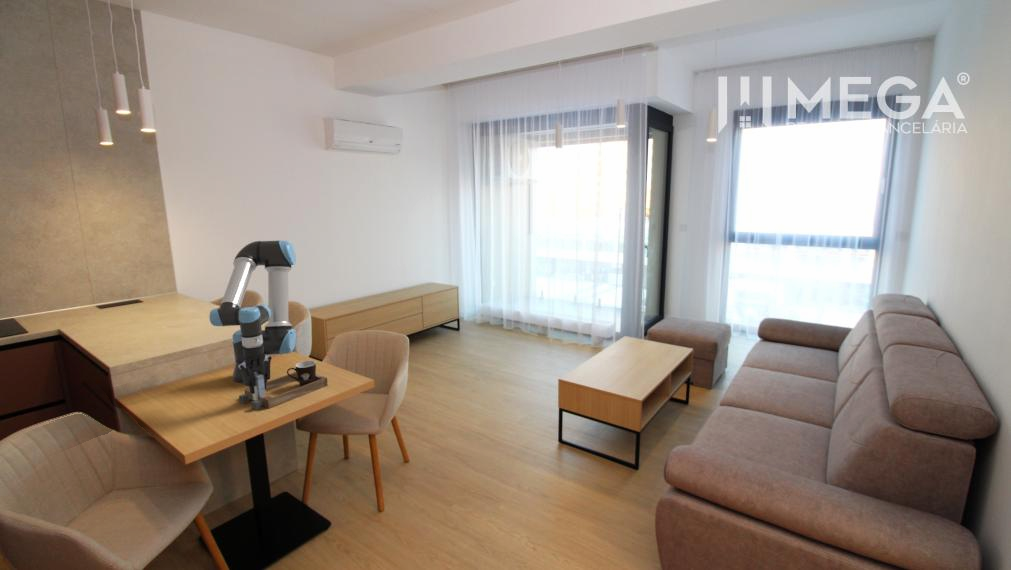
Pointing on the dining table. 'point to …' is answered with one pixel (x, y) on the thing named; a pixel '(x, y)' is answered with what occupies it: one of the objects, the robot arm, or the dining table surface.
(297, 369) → the coffee mug
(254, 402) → the block
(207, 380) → the dining table surface
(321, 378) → the brown frame
